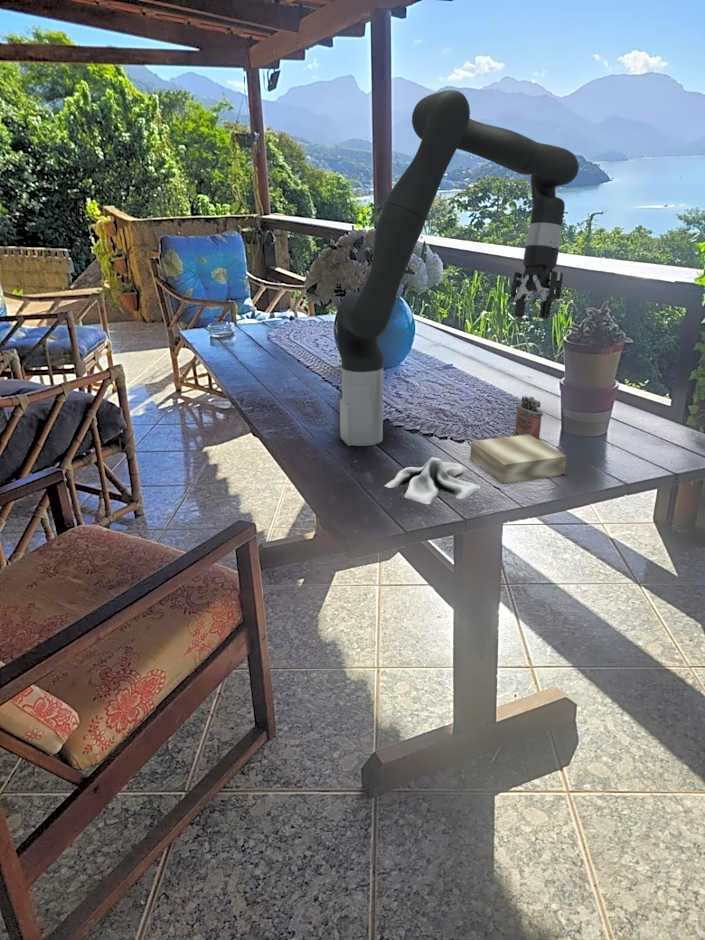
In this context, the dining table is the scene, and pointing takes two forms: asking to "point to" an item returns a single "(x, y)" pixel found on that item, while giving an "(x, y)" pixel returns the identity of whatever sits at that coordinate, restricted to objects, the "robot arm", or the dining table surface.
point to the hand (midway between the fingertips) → (530, 317)
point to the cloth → (433, 481)
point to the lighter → (528, 417)
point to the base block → (517, 458)
